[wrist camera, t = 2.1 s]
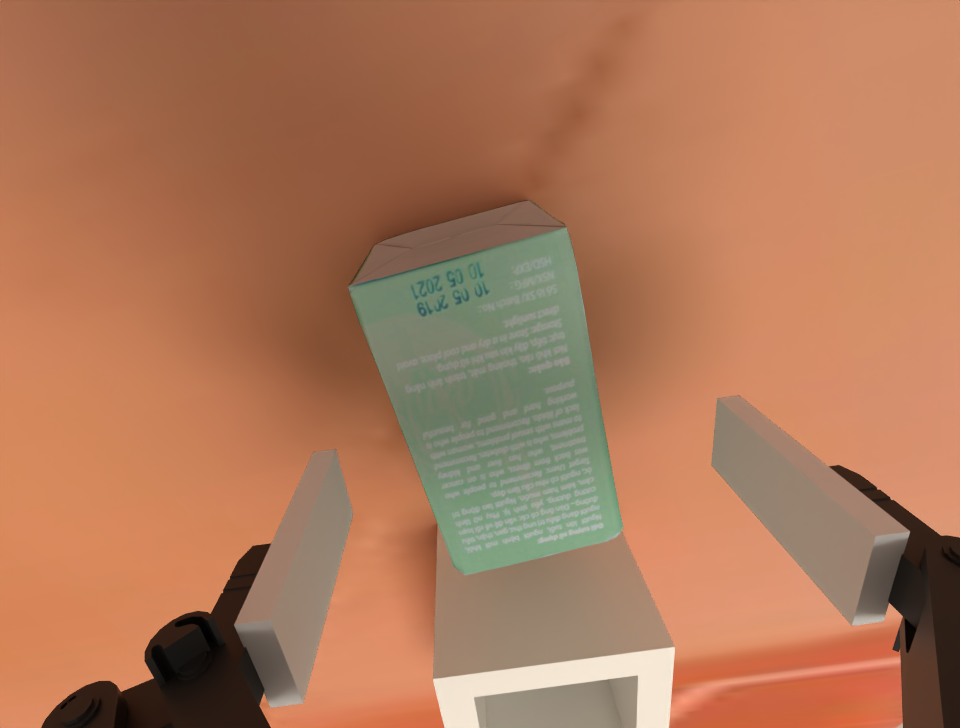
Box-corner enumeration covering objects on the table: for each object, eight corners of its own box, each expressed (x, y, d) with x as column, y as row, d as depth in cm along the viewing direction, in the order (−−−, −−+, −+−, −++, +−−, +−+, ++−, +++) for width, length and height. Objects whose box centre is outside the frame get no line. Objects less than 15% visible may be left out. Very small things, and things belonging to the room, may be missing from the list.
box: (455, 480, 27) (459, 591, 20) (370, 242, 22) (335, 282, 15) (584, 446, 27) (632, 547, 20) (530, 196, 21) (571, 215, 14)
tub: (437, 523, 28) (433, 679, 20) (608, 501, 28) (675, 646, 20) (460, 640, 32) (463, 809, 24) (609, 620, 32) (664, 782, 24)
